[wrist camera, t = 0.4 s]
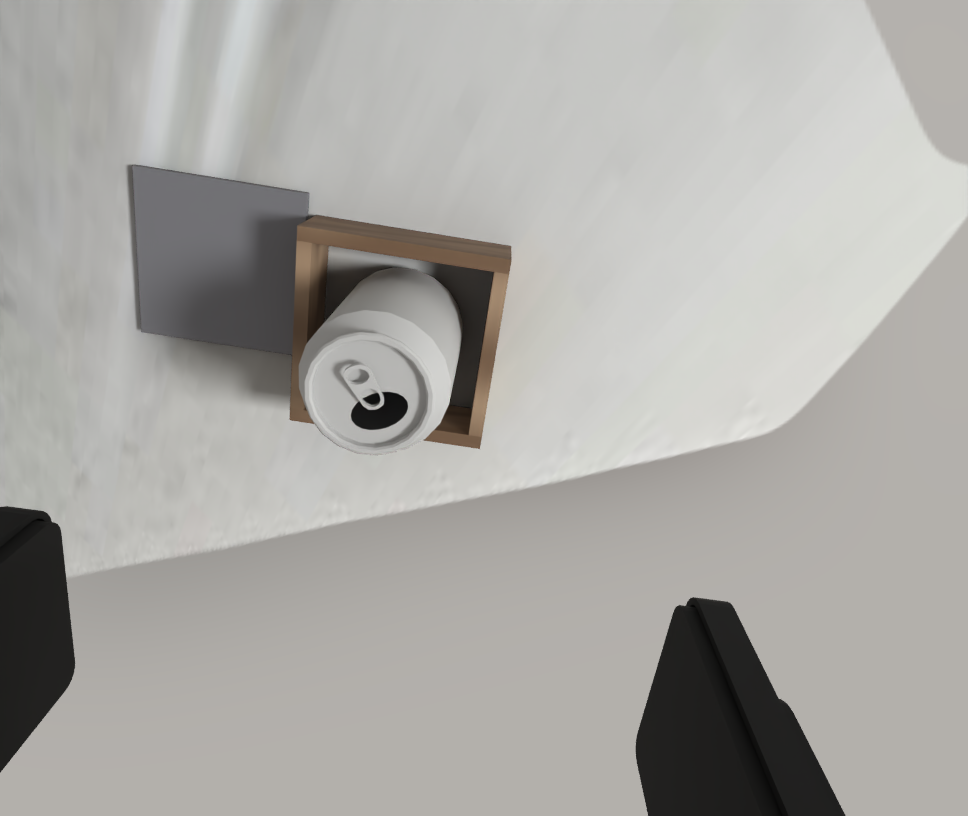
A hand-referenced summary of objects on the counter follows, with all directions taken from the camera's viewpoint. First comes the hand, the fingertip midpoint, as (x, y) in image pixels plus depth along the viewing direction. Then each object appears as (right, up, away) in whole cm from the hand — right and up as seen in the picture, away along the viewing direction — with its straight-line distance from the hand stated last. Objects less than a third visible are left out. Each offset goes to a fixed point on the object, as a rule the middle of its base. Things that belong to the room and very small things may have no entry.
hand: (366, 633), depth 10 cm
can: (-3, +9, +32) cm, 34 cm away
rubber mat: (-14, +12, +31) cm, 36 cm away
